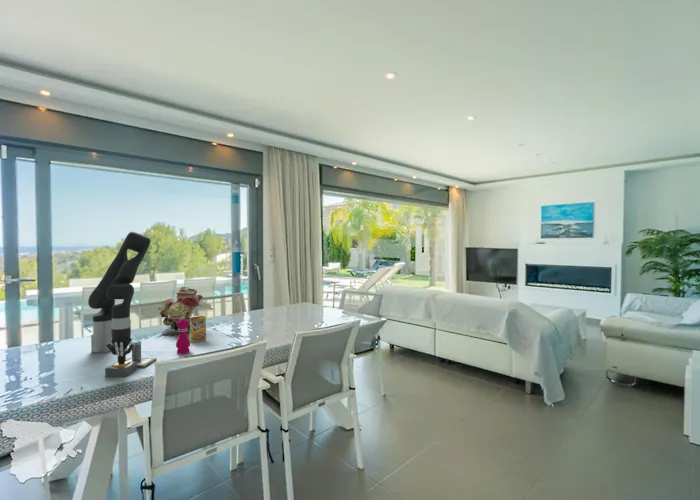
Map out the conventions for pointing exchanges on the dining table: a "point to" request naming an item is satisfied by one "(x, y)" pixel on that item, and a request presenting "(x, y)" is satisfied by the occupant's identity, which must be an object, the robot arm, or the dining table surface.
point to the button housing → (121, 370)
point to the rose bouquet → (179, 309)
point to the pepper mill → (183, 336)
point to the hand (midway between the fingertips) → (121, 363)
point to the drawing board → (144, 362)
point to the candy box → (197, 328)
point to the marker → (136, 352)
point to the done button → (120, 364)
